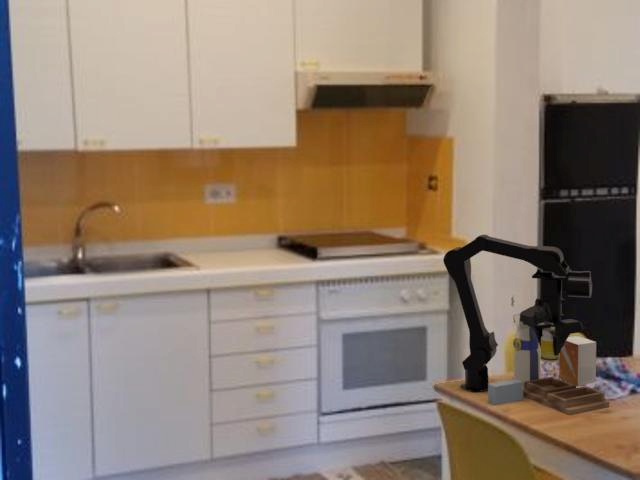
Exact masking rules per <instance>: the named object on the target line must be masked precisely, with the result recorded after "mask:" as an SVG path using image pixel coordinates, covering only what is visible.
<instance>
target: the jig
mask: <svg viewBox="0 0 640 480" xmlns="http://www.w3.org/2000/svg"><path fill="white" fill-rule="evenodd" d="M524 397H525V398H527V399H528V400H532V401H534V402H537V403H539V404H542V405H544V406H546V407H549V408H551V409H554V410H556V411H558V412H561V413H563V414H566V415H568V416H571V415H575V414H580V413H586V412H590V411H595V410H601V409H604V408H609V407H610V401H607V400H605V392H603V391H600V390H598V389H596V388H590V387H587V386H586V387H580V388H576V385H574V384H571V383H568V382H565V381H563V380H560V379H559V378H557V377H554V376H549V377H544V378H541V379H537V380H532V381H526V382H524V386H523V398H524Z"/></svg>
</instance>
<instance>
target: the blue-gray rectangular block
mask: <svg viewBox="0 0 640 480" xmlns="http://www.w3.org/2000/svg"><path fill="white" fill-rule="evenodd" d="M523 389H524V386H523V382H522V381H520V380H517V379H514V380H513V379H509V380H508V379H507V380H505V381H504V380H503V381H498V382H491V383H488V390H487V402H488V403H489V404H492V405H493V406H498V405H503V404H509V403H513V402H520V401H523V400H524V396H523Z"/></svg>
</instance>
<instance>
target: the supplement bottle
mask: <svg viewBox="0 0 640 480" xmlns="http://www.w3.org/2000/svg"><path fill="white" fill-rule="evenodd" d="M554 330H555V327H551V328H545V329H543V332H542V334H543V336H542V337H541V348H540V362H541V361H542V362H544V363H549V364H550V363H552V364H553V363H554V364H555V363H558V362H559V356H560V354H559V355H557V356H555V355H554V349H553V336H552V335H551V334H550V332H549V331H554Z"/></svg>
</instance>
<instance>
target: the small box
mask: <svg viewBox="0 0 640 480" xmlns="http://www.w3.org/2000/svg"><path fill="white" fill-rule="evenodd" d="M558 362H559V364H558V365H559V366H558V367H559V370H558V371H559V373H558V379H561V380H563V381H566V382H568V383H571V384H574V385H576V386H577V387H578V386H581V385H585V384H588V383H593V382H596V381H597V379H596V377H597V373H596V372H597V341H594V340H591V339H589V338H585V337H582V336H579V335H574V336H569V337H568V338H567V340H566V341H565V343H564V345H563V347H562V349H561V351H560V353H559V361H558Z"/></svg>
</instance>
